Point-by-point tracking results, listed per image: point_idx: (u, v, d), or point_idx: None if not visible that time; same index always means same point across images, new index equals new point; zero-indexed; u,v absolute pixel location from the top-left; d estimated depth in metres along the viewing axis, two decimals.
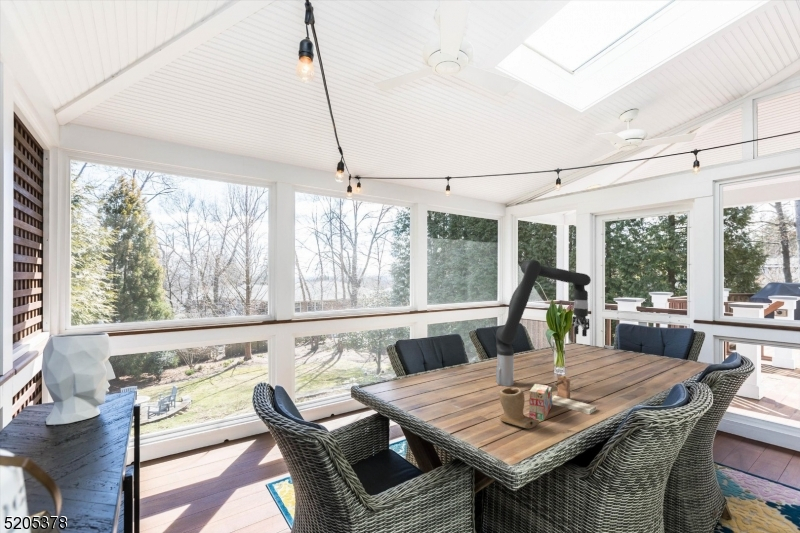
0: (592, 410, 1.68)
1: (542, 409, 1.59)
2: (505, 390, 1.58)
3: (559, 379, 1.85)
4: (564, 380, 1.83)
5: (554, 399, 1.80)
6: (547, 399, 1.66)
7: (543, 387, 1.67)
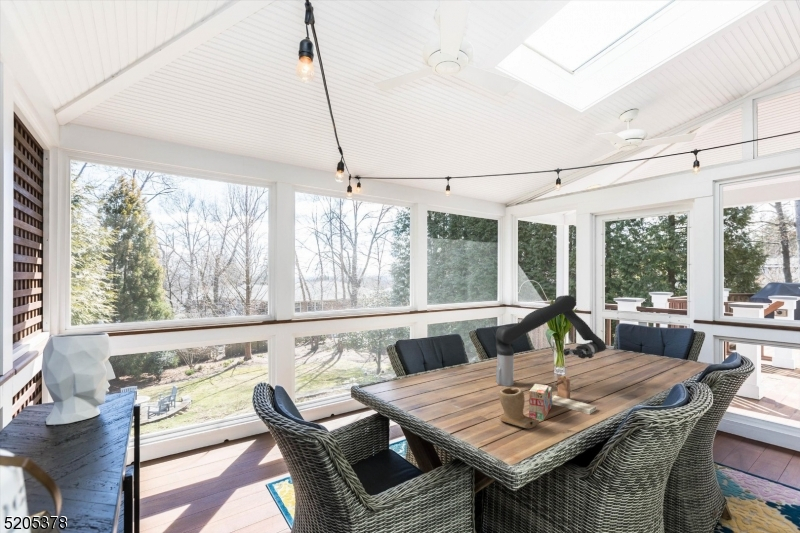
0: (592, 410, 1.68)
1: (542, 409, 1.59)
2: (505, 390, 1.58)
3: (559, 379, 1.85)
4: (564, 380, 1.83)
5: (554, 399, 1.80)
6: (547, 399, 1.66)
7: (543, 387, 1.67)
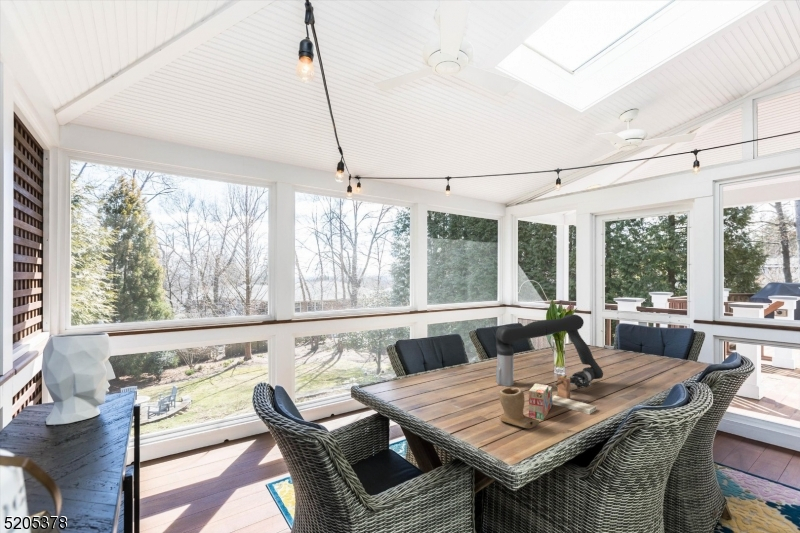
0: (592, 410, 1.68)
1: (541, 409, 1.59)
2: (505, 390, 1.58)
3: (559, 379, 1.85)
4: (564, 380, 1.83)
5: (554, 399, 1.80)
6: (547, 399, 1.66)
7: (543, 387, 1.67)
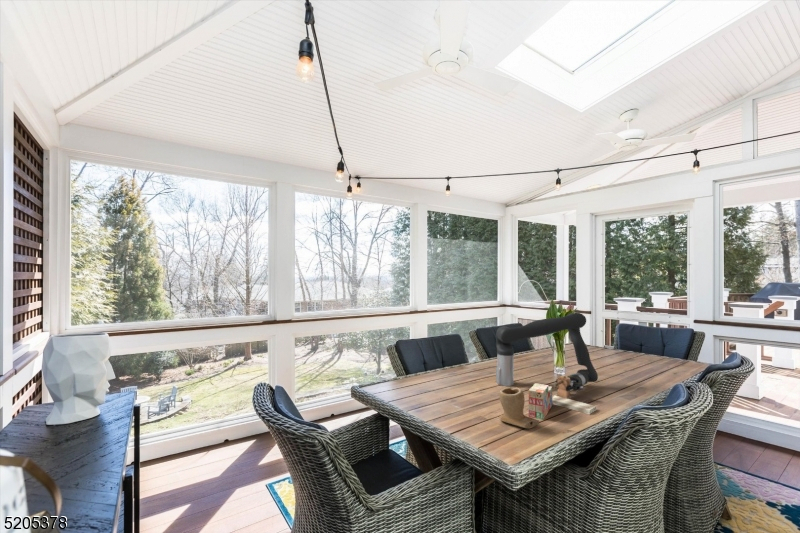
0: (592, 410, 1.68)
1: (541, 408, 1.60)
2: (505, 390, 1.58)
3: (559, 379, 1.85)
4: (564, 380, 1.83)
5: (554, 399, 1.80)
6: (547, 398, 1.67)
7: (543, 386, 1.67)
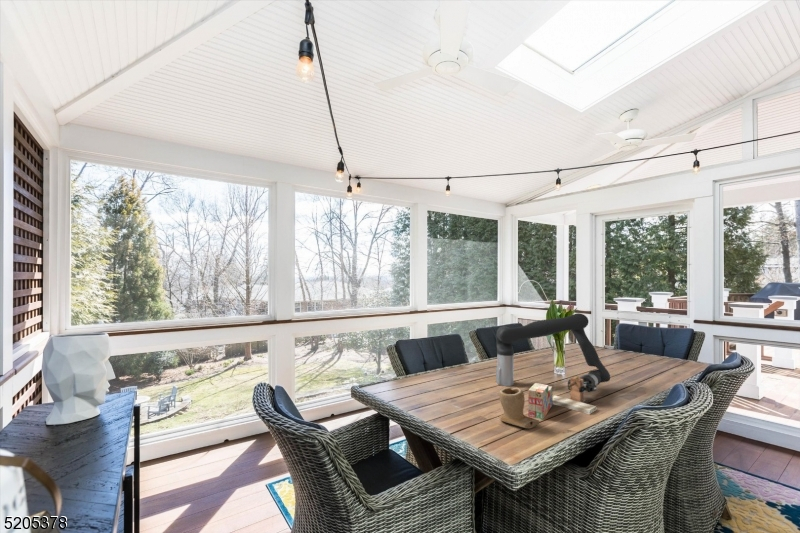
0: (592, 410, 1.68)
1: (541, 408, 1.60)
2: (505, 390, 1.58)
3: (572, 380, 1.81)
4: (577, 381, 1.79)
5: (554, 399, 1.80)
6: (547, 398, 1.67)
7: (543, 386, 1.68)
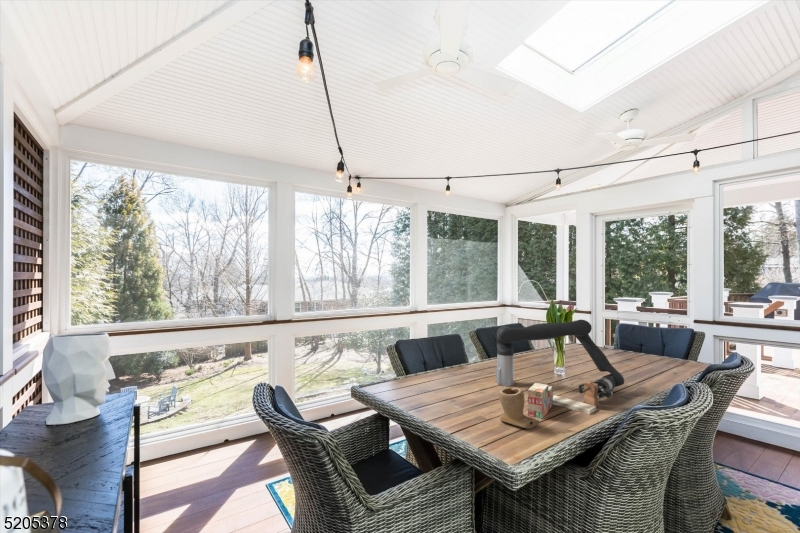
0: (592, 410, 1.68)
1: (540, 408, 1.61)
2: (505, 390, 1.58)
3: (586, 385, 1.76)
4: (591, 386, 1.74)
5: (554, 399, 1.80)
6: (546, 398, 1.67)
7: (542, 386, 1.68)
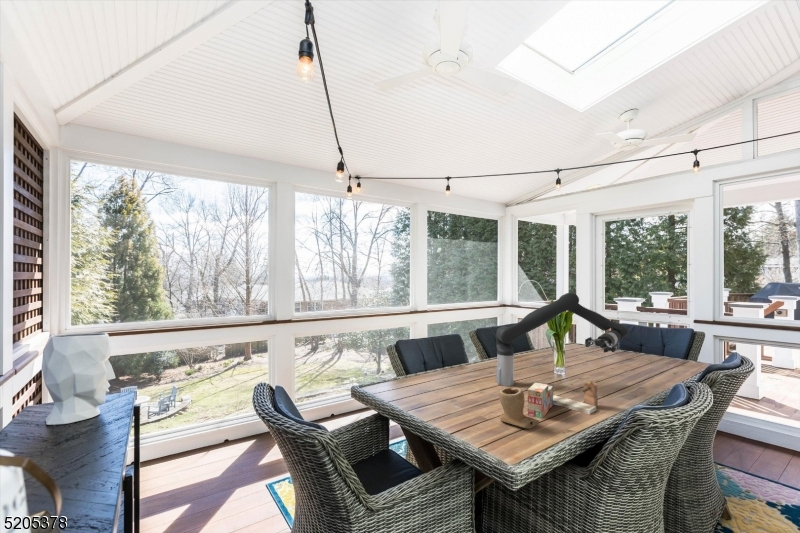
0: (592, 410, 1.68)
1: (540, 407, 1.61)
2: (505, 390, 1.58)
3: (586, 385, 1.76)
4: (591, 386, 1.74)
5: (554, 399, 1.80)
6: (546, 398, 1.68)
7: (542, 386, 1.68)
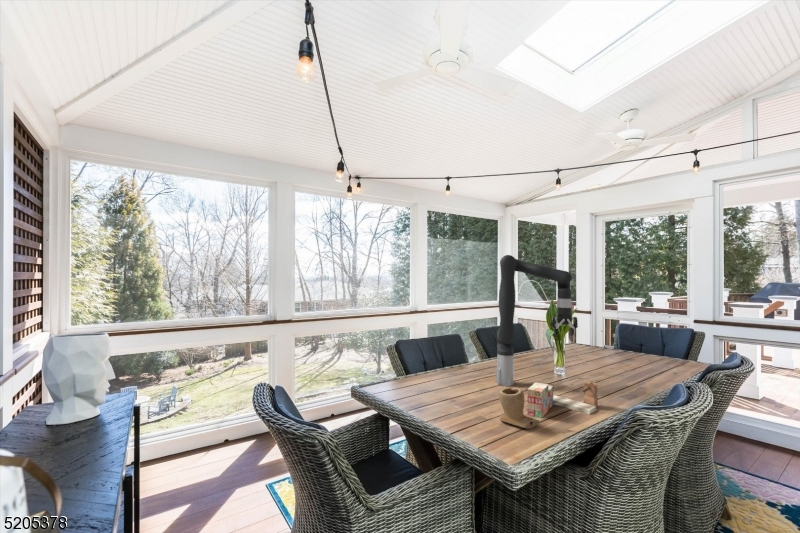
0: (592, 410, 1.68)
1: (540, 407, 1.61)
2: (505, 390, 1.58)
3: (586, 385, 1.76)
4: (591, 386, 1.74)
5: (554, 399, 1.80)
6: (546, 397, 1.68)
7: (542, 385, 1.69)
